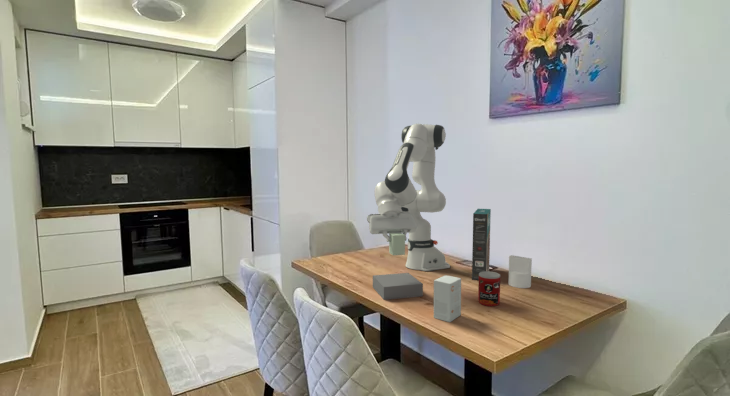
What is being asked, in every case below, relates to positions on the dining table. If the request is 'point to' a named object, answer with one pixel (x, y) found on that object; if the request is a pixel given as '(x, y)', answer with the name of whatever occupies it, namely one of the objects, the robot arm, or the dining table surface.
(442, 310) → the small box
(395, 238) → the sage block
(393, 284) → the stand
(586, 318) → the dining table surface
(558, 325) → the dining table surface
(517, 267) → the base with upright slab
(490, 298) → the canned food
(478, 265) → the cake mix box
